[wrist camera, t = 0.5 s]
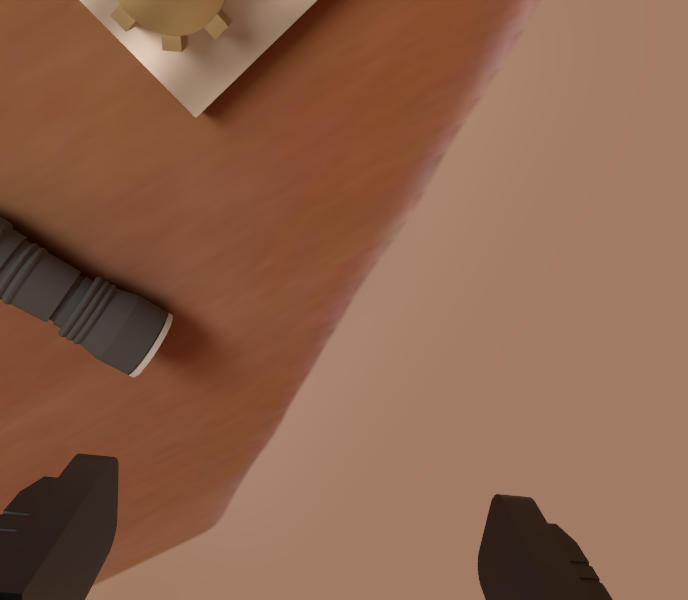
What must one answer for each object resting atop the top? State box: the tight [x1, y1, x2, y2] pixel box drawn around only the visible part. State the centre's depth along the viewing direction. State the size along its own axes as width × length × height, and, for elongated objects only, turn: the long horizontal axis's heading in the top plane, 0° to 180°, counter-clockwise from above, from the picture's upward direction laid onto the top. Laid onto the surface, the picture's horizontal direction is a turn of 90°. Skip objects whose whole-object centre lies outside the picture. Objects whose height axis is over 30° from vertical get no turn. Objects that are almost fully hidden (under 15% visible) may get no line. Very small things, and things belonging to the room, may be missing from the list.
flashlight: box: [0, 217, 173, 377], centre depth 38 cm, size 15×5×5 cm, turn 49°
